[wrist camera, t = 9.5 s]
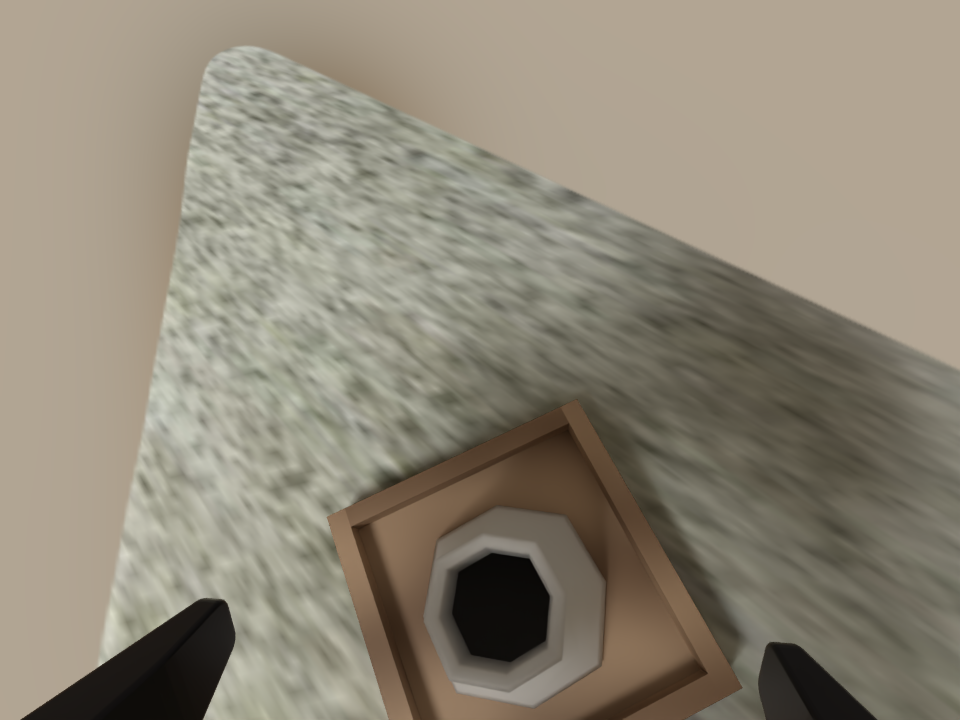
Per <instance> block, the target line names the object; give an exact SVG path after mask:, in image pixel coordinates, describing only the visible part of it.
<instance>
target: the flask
mask: <svg viewBox="0 0 960 720" xmlns="http://www.w3.org/2000/svg"><path fill="white" fill-rule="evenodd" d="M605 596H606V581H605V579H604V577H603V576H602V574H601V572H600V571H599V569H598V567H597V566H596V564H595V562H594V561H593V559H592V557H591V555H590V554H589V552H588V550H587V549H586V547H585V545H584V544H583V542H582V540H581V539H580V537H579V535H578V534H577V532H576V530H575V528H574V527H573V525H572V523H571V522H570V520H569V518H568V517H567V515H564V514H557V513H550V512H543V511H536V510H528V509H521V508H514V507H507V506H500V505H496V506H495V507H493V508H491V509H489V510H488V511H486V512H484V513H483V514H481V515H479V516H477V517H476V518H474V519H472V520H470V521H469V522H467V523H465V524H463V525H462V526H460V527H458V528H456V529H455V530H453V531H451V532H449V533H448V534H446V535H444V536H442V537H441V538H439V539H437V540H436V545H435V551H434V557H433V563H432V568H431V574H430V580H429V586H428V591H427V597H426V603H425V609H424V614H423V617H424V624H425V626H426V628H427V631H428V633H429V635H430V638H431V640H432V642H433V644H434V647H435V649H436V651H437V654H438V656H439V658H440V661H441V663H442V665H443V668H444V670H445V672H446V675H447V677H448V679H449V681H451V682H452V684H453V687H454V689H455V691H456V693H458V694H463V695H468V696H473V697H478V698H483V699H488V700H493V701H498V702H503V703H508V704H513V705H518V706H523V707H528V708H533V709H535V708H536V707H538V706H539V705H541V704H543V703H544V702H546V701H547V700H549V699H551V698H552V697H554V696H555V695H557V694H559V693H560V692H562V691H563V690H565V689H566V688H568V687H570V686H571V685H573V684H574V683H576V682H578V681H579V680H581V679H582V678H584V677H586V676H587V675H589V674H590V673H592V672H594V671H595V670H597V669H598V668H600V667H602V655H603V635H604V616H605Z"/></svg>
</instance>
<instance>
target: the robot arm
mask: <svg viewBox="0 0 960 720" xmlns="http://www.w3.org/2000/svg"><path fill="white" fill-rule="evenodd" d="M234 644H235V629H234V625H233V622H232V618H231V614H230V611H229V607H228V604H227V602H226V601H225V600H222V599H213V598H203V599H200V600H198V601H196V602H195V603H193V604H192V605H190V606H189V607H187V608H186V609H184V610H183V611H181V612H180V613H178V614H177V615H175V616H174V617H172V618H171V619H169V620H168V621H166V622H165V623H163V624H162V625H160V626H159V627H157V628H156V629H154V630H153V631H151V632H150V633H148V634H147V635H146V636H144V637H143V638H141V639H140V640H138V641H137V642H135V643H134V644H132V645H131V646H129V647H128V648H126V649H125V650H123V651H122V652H120V653H119V654H117V655H116V656H114V657H113V658H111V659H110V660H108V661H107V662H105V663H104V664H102V665H101V666H99V667H98V668H96V669H95V670H94V671H92V672H91V673H89V674H88V675H86V676H85V677H83V678H82V679H80V680H79V681H77V682H76V683H75V684H73V685H71V686H70V687H68V688H67V689H65V690H64V691H62V692H61V693H59V694H58V695H56V696H55V697H54V698H52V699H51V700H49V701H47V702H46V703H45V704H43V705H42V706H40V707H39V708H37V709H36V710H34V711H33V712H31V713H30V714H28V715H27V716H25V717H24V718H22V719H21V720H203V718H204V716H205V714H206V711H207V709H208V707H209V704H210V702H211V699H212V697H213V695H214V692H215V690H216V688H217V685H218V683H219V681H220V678H221V676H222V674H223V671H224V669H225V666H226V664H227V662H228V659H229V657H230V655H231V652H232V650H233V647H234ZM758 686H759V694H760V698H761V702H762V705H763V709H764V713H765V717H766V720H877V719H876V718H875V717H874V716H873V715H872V714H871V713H870V712H869V711H868V710H867V709H866V708H865V707H864V706H862V705H861V704H860V703H859V702H858V701H857V700H856V699H855V698H854V697H853V696H852V695H851V694H850V693H849V692H848V691H847V690H846V689H845V688H844V687H842V686H841V685H840V684H839V683H838V682H837V681H836V680H835V679H834V678H833V677H832V676H831V675H830V674H829V673H828V672H827V671H826V670H825V669H824V668H822V667H821V666H820V665H819V664H818V663H817V662H816V661H815V660H814V659H813V658H812V657H811V656H810V655H809V654H808V653H807V652H806V651H805V650H803V649H802V648H801V647H800V646H798V645H796V644H792V643H781V642H770V643H769V644H768V645H767V646H766V649H765V653H764V657H763V661H762V665H761V670H760V674H759V679H758Z"/></svg>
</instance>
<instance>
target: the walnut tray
mask: <svg viewBox="0 0 960 720" xmlns="http://www.w3.org/2000/svg"><path fill="white" fill-rule="evenodd" d="M496 505H500V506H507V507H514V508H521V509H528V510H536V511H543V512H550V513H557V514H564V515H567V517H568V518H569V520H570V522H571V523H572V525H573V527H574V528H575V530H576V532H577V534H578V535H579V537H580V539H581V540H582V542H583V544H584V545H585V547H586V549H587V550H588V552H589V554H590V555H591V557H592V559H593V561H594V562H595V564H596V566H597V567H598V569H599V571H600V572H601V574H602V576H603V577H604V579H605V581H606V596H605V616H604V635H603V655H602V667H600V668H598V669H597V670H595V671H594V672H592V673H590V674H589V675H587V676H586V677H584V678H582V679H581V680H579V681H578V682H576V683H574V684H573V685H571V686H570V687H568V688H566V689H565V690H563V691H562V692H560V693H559V694H557V695H555V696H554V697H552V698H551V699H549V700H547V701H546V702H544V703H543V704H541V705H539V706H538V707H536V708H535V709H533V708H528V707H523V706H518V705H513V704H508V703H503V702H498V701H493V700H488V699H483V698H478V697H473V696H468V695H463V694H458V693H456V691H455V689H454V687H453V684H452V682H451V681H449V679H448V677H447V675H446V672H445V670H444V668H443V665H442V663H441V661H440V658H439V656H438V654H437V651H436V649H435V647H434V644H433V642H432V640H431V638H430V635H429V633H428V631H427V628H426V626H425V624H424V617H423V614H424V609H425V603H426V597H427V591H428V586H429V580H430V574H431V568H432V563H433V557H434V551H435V545H436V540H437V539H439V538H441V537H442V536H444V535H446V534H448V533H449V532H451V531H453V530H455V529H456V528H458V527H460V526H462V525H463V524H465V523H467V522H469V521H470V520H472V519H474V518H476V517H477V516H479V515H481V514H483V513H484V512H486V511H488V510H489V509H491V508H493V507H495V506H496ZM327 519H328V522H329V526H330V529H331V532H332V535H333V539H334V542H335V545H336V548H337V552H338V555H339V558H340V561H341V565H342V568H343V571H344V574H345V578H346V581H347V584H348V588H349V591H350V594H351V597H352V601H353V604H354V607H355V610H356V614H357V617H358V620H359V623H360V627H361V630H362V633H363V636H364V640H365V643H366V646H367V649H368V653H369V656H370V659H371V663H372V666H373V669H374V672H375V676H376V679H377V682H378V685H379V689H380V692H381V695H382V698H383V702H384V705H385V708H386V711H387V715H388V718H389V720H684V719H686V718H688V717H690V716H691V715H693V714H695V713H697V712H699V711H701V710H703V709H704V708H706V707H708V706H710V705H712V704H714V703H716V702H717V701H719V700H721V699H723V698H725V697H727V696H729V695H730V694H732V693H734V692H736V691H738V690H740V689H742V686H741V684H740V682H739V681H738V679H737V677H736V676H735V674H734V672H733V670H732V669H731V667H730V665H729V663H728V662H727V660H726V658H725V656H724V655H723V653H722V651H721V649H720V648H719V646H718V644H717V642H716V641H715V639H714V637H713V635H712V634H711V632H710V630H709V628H708V627H707V625H706V623H705V621H704V620H703V618H702V616H701V614H700V613H699V611H698V609H697V608H696V606H695V604H694V602H693V601H692V599H691V597H690V595H689V594H688V592H687V590H686V588H685V587H684V585H683V583H682V581H681V580H680V578H679V576H678V574H677V573H676V571H675V569H674V567H673V566H672V564H671V562H670V560H669V559H668V557H667V555H666V553H665V552H664V550H663V548H662V546H661V545H660V543H659V541H658V539H657V538H656V536H655V534H654V533H653V531H652V529H651V527H650V526H649V524H648V522H647V520H646V519H645V517H644V515H643V513H642V512H641V510H640V508H639V506H638V505H637V503H636V501H635V499H634V498H633V496H632V494H631V492H630V491H629V489H628V487H627V485H626V484H625V482H624V480H623V478H622V477H621V475H620V473H619V471H618V470H617V468H616V466H615V465H614V463H613V461H612V459H611V458H610V456H609V454H608V452H607V451H606V449H605V447H604V445H603V444H602V442H601V440H600V438H599V437H598V435H597V433H596V431H595V430H594V428H593V426H592V424H591V423H590V421H589V419H588V417H587V416H586V414H585V412H584V410H583V409H582V407H581V405H580V403H579V402H578V400H577V399H576V400H574V401H572V402H569V403H567V404H565V405H563V406H561V407H559V408H557V409H555V410H553V411H550V412H548V413H546V414H544V415H542V416H540V417H538V418H536V419H533V420H531V421H529V422H527V423H525V424H523V425H521V426H519V427H516V428H514V429H512V430H510V431H508V432H506V433H504V434H502V435H499V436H497V437H495V438H493V439H491V440H489V441H487V442H485V443H483V444H480V445H478V446H476V447H474V448H472V449H470V450H468V451H466V452H463V453H461V454H459V455H457V456H455V457H453V458H451V459H449V460H446V461H444V462H442V463H440V464H438V465H436V466H434V467H432V468H429V469H427V470H425V471H423V472H421V473H419V474H417V475H415V476H413V477H410V478H408V479H406V480H404V481H402V482H400V483H398V484H396V485H393V486H391V487H389V488H387V489H385V490H383V491H381V492H379V493H376V494H374V495H372V496H370V497H368V498H366V499H364V500H362V501H359V502H357V503H355V504H353V505H351V506H349V507H347V508H345V509H343V510H340V511H338V512H336V513H334V514H332V515H330V516H328V517H327Z"/></svg>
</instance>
